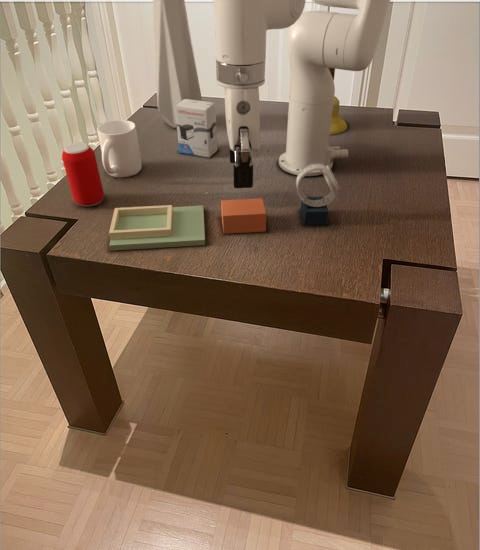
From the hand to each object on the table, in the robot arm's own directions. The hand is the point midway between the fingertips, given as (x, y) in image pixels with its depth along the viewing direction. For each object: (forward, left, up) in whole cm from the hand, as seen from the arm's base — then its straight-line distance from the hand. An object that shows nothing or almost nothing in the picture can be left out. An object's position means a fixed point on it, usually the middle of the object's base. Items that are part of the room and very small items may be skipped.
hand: (240, 174), depth 81 cm
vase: (+12, -53, -11) cm, 56 cm away
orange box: (0, 0, -11) cm, 11 cm away
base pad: (+16, 0, -11) cm, 19 cm away
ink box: (+8, -34, -11) cm, 37 cm away
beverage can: (+31, -12, -11) cm, 35 cm away
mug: (+26, -24, -11) cm, 37 cm away
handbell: (-27, -47, -11) cm, 56 cm away
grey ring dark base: (-14, -1, -11) cm, 18 cm away
